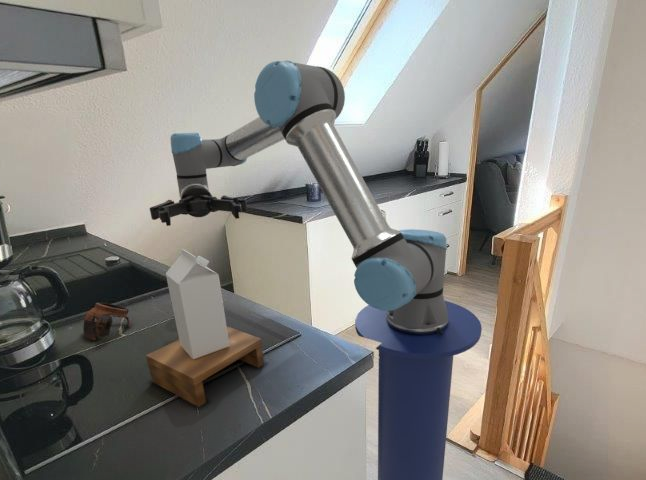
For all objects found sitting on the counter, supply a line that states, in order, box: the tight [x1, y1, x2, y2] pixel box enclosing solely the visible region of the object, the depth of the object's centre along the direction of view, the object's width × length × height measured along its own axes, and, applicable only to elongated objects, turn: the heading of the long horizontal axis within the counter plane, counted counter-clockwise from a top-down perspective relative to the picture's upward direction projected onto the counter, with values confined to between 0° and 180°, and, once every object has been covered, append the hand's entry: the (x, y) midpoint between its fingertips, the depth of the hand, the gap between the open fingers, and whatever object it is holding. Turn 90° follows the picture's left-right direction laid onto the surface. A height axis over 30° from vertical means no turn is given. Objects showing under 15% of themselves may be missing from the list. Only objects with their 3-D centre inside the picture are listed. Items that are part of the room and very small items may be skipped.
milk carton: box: [165, 247, 229, 359], centre depth 75 cm, size 7×7×19 cm
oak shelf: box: [145, 326, 265, 408], centre depth 79 cm, size 14×16×6 cm
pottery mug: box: [82, 302, 131, 341], centre depth 96 cm, size 12×10×8 cm
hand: (203, 215), depth 83 cm, fingers open, 13 cm apart
